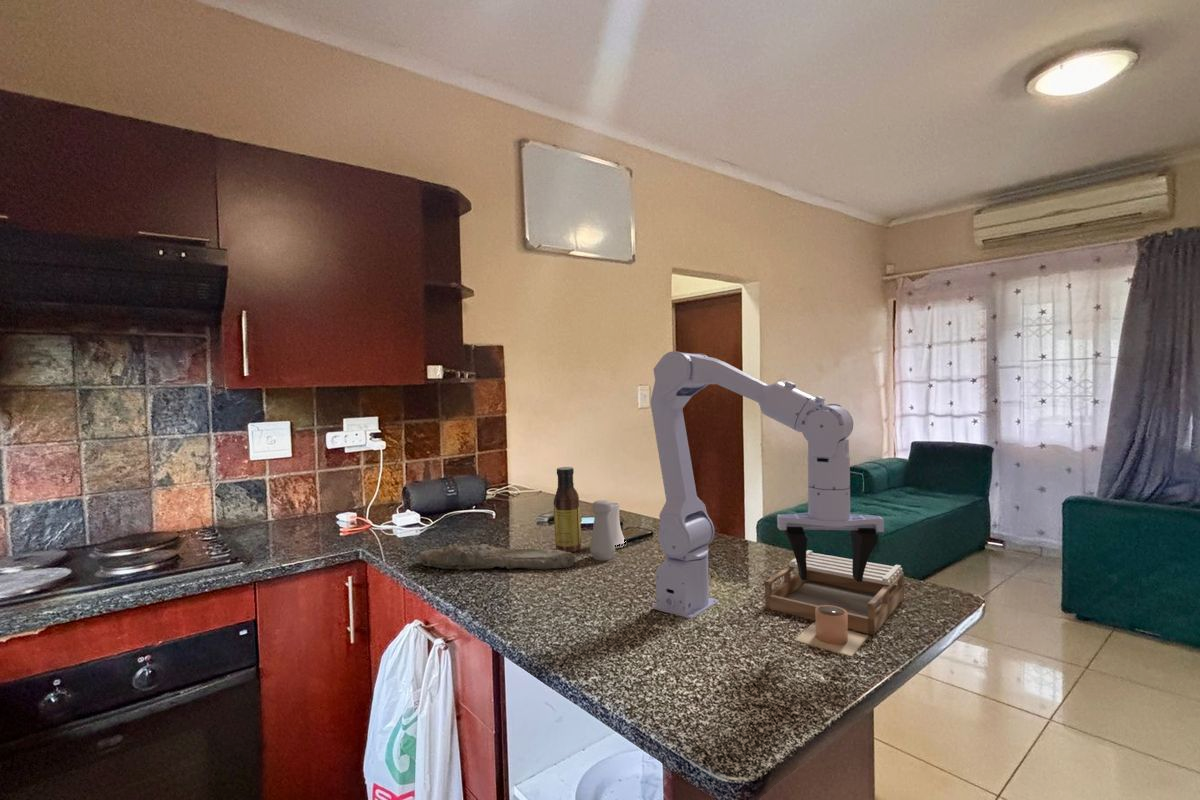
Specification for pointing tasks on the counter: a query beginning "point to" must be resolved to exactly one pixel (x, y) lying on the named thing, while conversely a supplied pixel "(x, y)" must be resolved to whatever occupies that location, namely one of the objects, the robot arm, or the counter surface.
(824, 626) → the pot
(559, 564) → the long grey stone
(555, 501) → the sauce bottle
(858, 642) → the mat
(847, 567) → the cover
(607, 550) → the salt shaker
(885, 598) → the box
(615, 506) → the vase
